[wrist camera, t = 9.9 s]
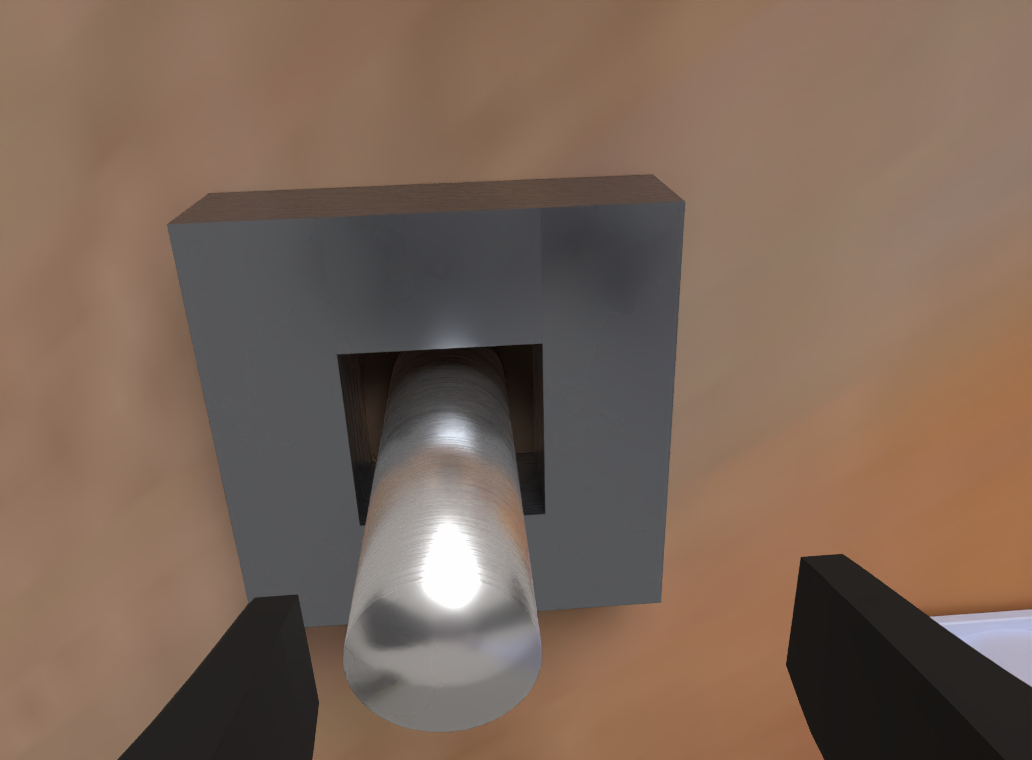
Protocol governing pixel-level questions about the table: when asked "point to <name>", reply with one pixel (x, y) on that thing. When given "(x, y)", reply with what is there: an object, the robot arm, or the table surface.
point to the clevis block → (439, 325)
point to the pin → (444, 553)
